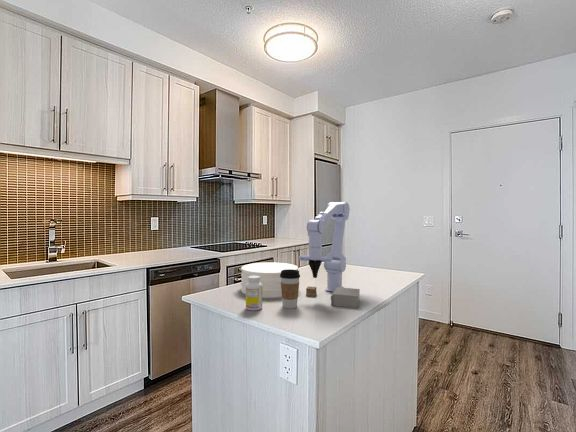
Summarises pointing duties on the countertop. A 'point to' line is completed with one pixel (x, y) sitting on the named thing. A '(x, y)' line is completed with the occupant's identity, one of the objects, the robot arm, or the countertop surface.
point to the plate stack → (266, 277)
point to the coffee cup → (289, 287)
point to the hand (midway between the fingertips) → (315, 277)
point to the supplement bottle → (253, 293)
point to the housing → (346, 297)
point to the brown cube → (311, 291)
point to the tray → (332, 297)
